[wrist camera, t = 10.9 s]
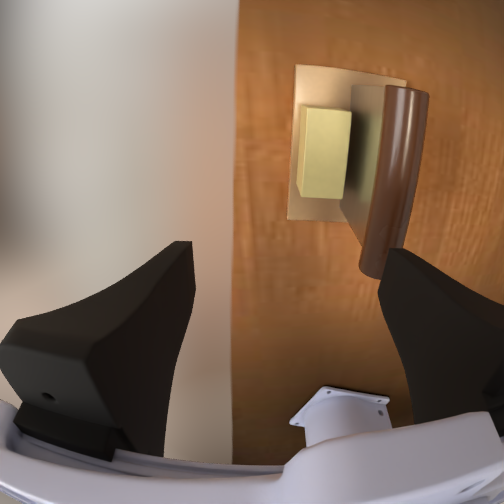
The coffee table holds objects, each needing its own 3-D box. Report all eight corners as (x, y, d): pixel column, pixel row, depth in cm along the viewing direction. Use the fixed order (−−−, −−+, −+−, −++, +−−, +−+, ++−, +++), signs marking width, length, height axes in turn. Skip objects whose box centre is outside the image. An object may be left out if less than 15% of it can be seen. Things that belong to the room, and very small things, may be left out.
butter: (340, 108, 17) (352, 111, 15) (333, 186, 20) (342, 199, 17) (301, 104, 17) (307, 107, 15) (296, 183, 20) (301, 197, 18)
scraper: (368, 87, 16) (437, 94, 9) (354, 208, 20) (400, 280, 13) (339, 83, 16) (395, 84, 9) (328, 206, 20) (364, 280, 13)
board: (401, 80, 17) (406, 80, 16) (382, 220, 22) (386, 225, 21) (294, 64, 17) (296, 63, 16) (286, 215, 22) (287, 220, 21)
